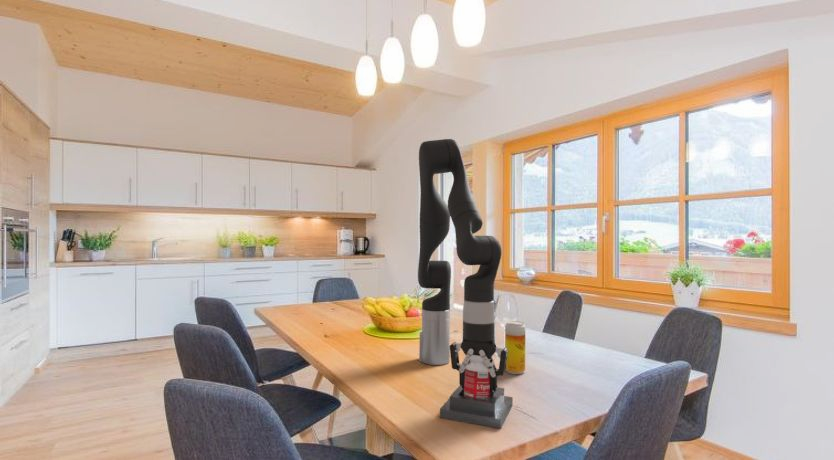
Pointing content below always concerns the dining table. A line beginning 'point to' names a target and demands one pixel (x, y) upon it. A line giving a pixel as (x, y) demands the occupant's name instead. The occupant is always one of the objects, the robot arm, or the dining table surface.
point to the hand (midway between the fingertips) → (478, 389)
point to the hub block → (478, 408)
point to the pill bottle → (477, 379)
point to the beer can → (515, 347)
